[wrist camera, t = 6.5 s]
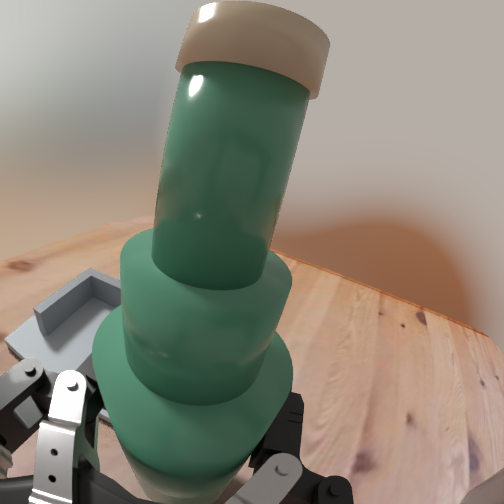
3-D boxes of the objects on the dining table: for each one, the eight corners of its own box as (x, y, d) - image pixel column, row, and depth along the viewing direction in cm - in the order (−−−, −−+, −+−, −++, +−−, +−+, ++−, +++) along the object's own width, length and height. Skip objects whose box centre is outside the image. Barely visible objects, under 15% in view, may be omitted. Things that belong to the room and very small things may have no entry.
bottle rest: (196, 323, 30) (200, 295, 29) (129, 433, 16) (122, 410, 14) (90, 279, 32) (88, 253, 30) (7, 346, 17) (-5, 316, 15)
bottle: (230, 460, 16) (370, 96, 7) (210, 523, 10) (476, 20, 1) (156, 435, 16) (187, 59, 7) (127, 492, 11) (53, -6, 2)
